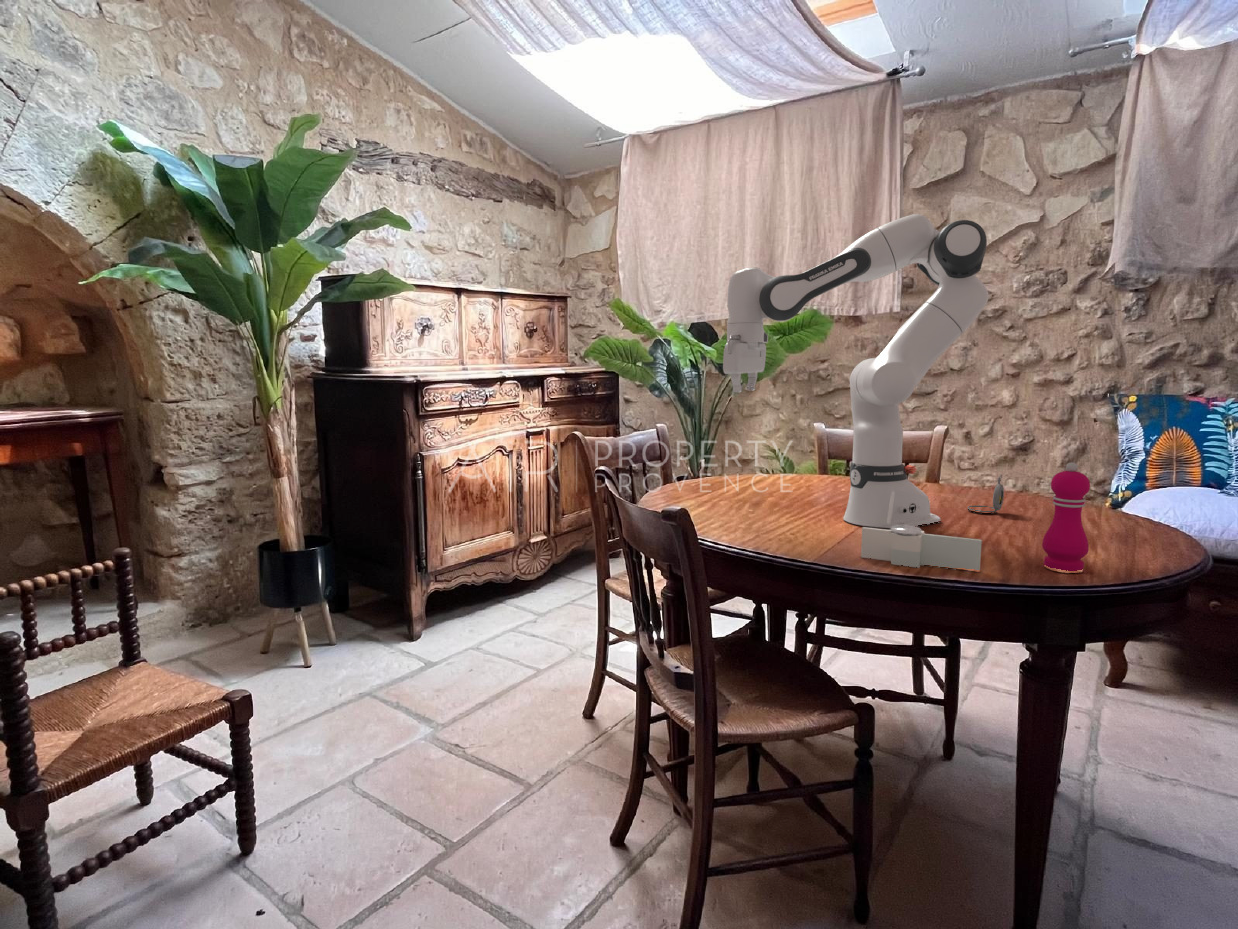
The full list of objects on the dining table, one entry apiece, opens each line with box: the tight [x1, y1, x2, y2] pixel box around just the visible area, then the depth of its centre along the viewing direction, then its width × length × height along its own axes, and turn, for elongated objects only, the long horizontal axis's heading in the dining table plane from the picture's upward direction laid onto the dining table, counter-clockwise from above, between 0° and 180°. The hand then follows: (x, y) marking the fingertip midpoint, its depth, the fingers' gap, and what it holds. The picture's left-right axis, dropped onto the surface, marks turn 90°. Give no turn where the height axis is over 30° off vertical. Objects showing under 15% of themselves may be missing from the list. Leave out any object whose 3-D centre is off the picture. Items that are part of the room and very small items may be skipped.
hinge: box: [860, 526, 983, 571], centre depth 133 cm, size 21×5×6 cm, turn 59°
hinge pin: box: [890, 525, 922, 536], centre depth 134 cm, size 5×5×6 cm
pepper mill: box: [1041, 462, 1091, 571], centre depth 128 cm, size 7×7×20 cm
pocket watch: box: [967, 474, 1005, 513], centre depth 175 cm, size 8×8×10 cm
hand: (744, 391), depth 175 cm, fingers open, 8 cm apart
